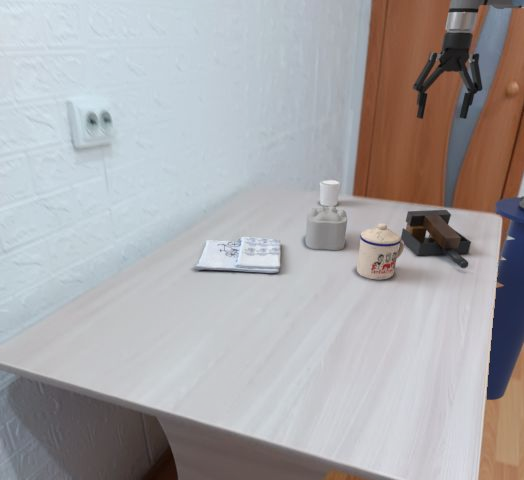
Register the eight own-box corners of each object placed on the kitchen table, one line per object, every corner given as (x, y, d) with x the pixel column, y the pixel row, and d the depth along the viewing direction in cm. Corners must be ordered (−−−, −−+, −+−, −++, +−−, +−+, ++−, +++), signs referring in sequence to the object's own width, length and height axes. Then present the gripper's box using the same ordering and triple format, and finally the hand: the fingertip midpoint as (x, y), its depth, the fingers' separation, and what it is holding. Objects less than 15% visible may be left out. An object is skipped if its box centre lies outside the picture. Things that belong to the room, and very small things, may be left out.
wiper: (446, 209, 130) (474, 237, 118) (443, 219, 132) (471, 247, 120) (407, 211, 128) (432, 239, 116) (405, 221, 130) (429, 249, 118)
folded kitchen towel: (279, 274, 111) (280, 266, 110) (193, 271, 112) (192, 262, 110) (281, 244, 127) (281, 236, 126) (205, 241, 128) (205, 233, 126)
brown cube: (420, 223, 131) (427, 228, 127) (418, 237, 133) (424, 242, 129) (407, 223, 130) (412, 228, 127) (404, 237, 132) (410, 242, 129)
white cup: (325, 207, 155) (327, 185, 151) (314, 202, 160) (315, 180, 156) (343, 205, 157) (345, 183, 153) (331, 199, 162) (333, 178, 158)
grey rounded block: (305, 248, 125) (308, 216, 120) (304, 231, 136) (307, 200, 131) (345, 250, 124) (349, 217, 120) (341, 233, 135) (345, 202, 130)
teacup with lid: (371, 283, 108) (379, 233, 102) (347, 268, 115) (353, 220, 108) (412, 274, 113) (422, 225, 106) (386, 260, 119) (394, 214, 113)
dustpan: (400, 240, 132) (402, 228, 130) (447, 238, 133) (450, 226, 132) (436, 274, 113) (440, 261, 111) (490, 271, 115) (494, 258, 113)
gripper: (493, 33, 135) (474, 116, 147) (410, 30, 132) (396, 116, 143) (509, 33, 129) (487, 119, 140) (421, 30, 125) (406, 119, 137)
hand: (441, 118), depth 142 cm, fingers open, 13 cm apart
